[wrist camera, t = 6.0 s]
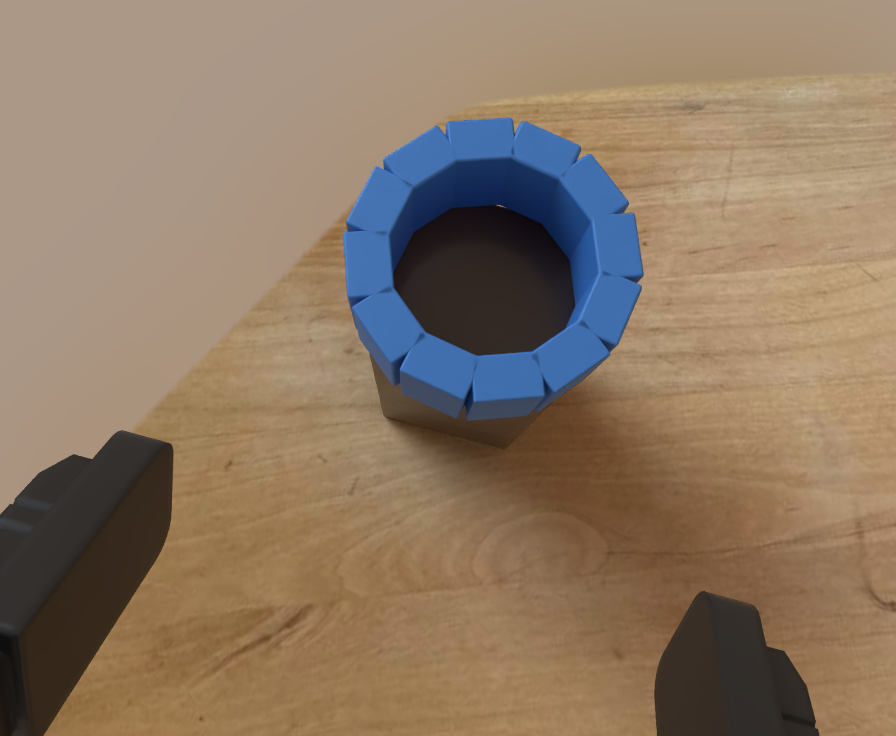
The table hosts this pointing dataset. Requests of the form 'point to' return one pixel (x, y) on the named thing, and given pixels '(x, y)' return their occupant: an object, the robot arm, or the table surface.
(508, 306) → the riser block
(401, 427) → the table surface
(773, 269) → the table surface
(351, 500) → the table surface
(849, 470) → the table surface
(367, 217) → the tape roll
